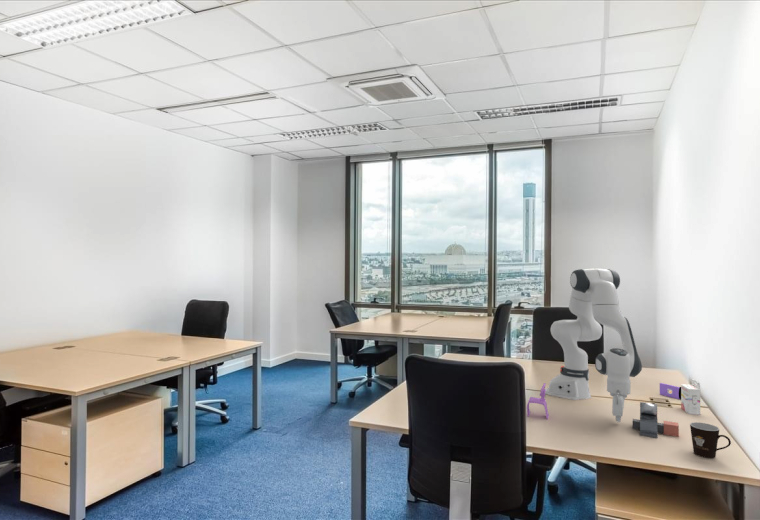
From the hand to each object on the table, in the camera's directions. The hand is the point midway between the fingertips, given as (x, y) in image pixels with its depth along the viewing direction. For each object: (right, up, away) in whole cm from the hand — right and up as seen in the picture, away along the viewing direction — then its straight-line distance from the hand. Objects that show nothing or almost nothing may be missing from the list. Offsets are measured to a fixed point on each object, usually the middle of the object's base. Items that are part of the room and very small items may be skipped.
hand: (618, 420), depth 194 cm
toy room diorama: (+52, -3, +42) cm, 67 cm away
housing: (+9, -2, -6) cm, 11 cm away
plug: (+11, -2, -7) cm, 13 cm away
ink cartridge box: (+43, -2, +18) cm, 46 cm away
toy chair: (-30, -2, +10) cm, 32 cm away
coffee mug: (+16, -2, -31) cm, 35 cm away
